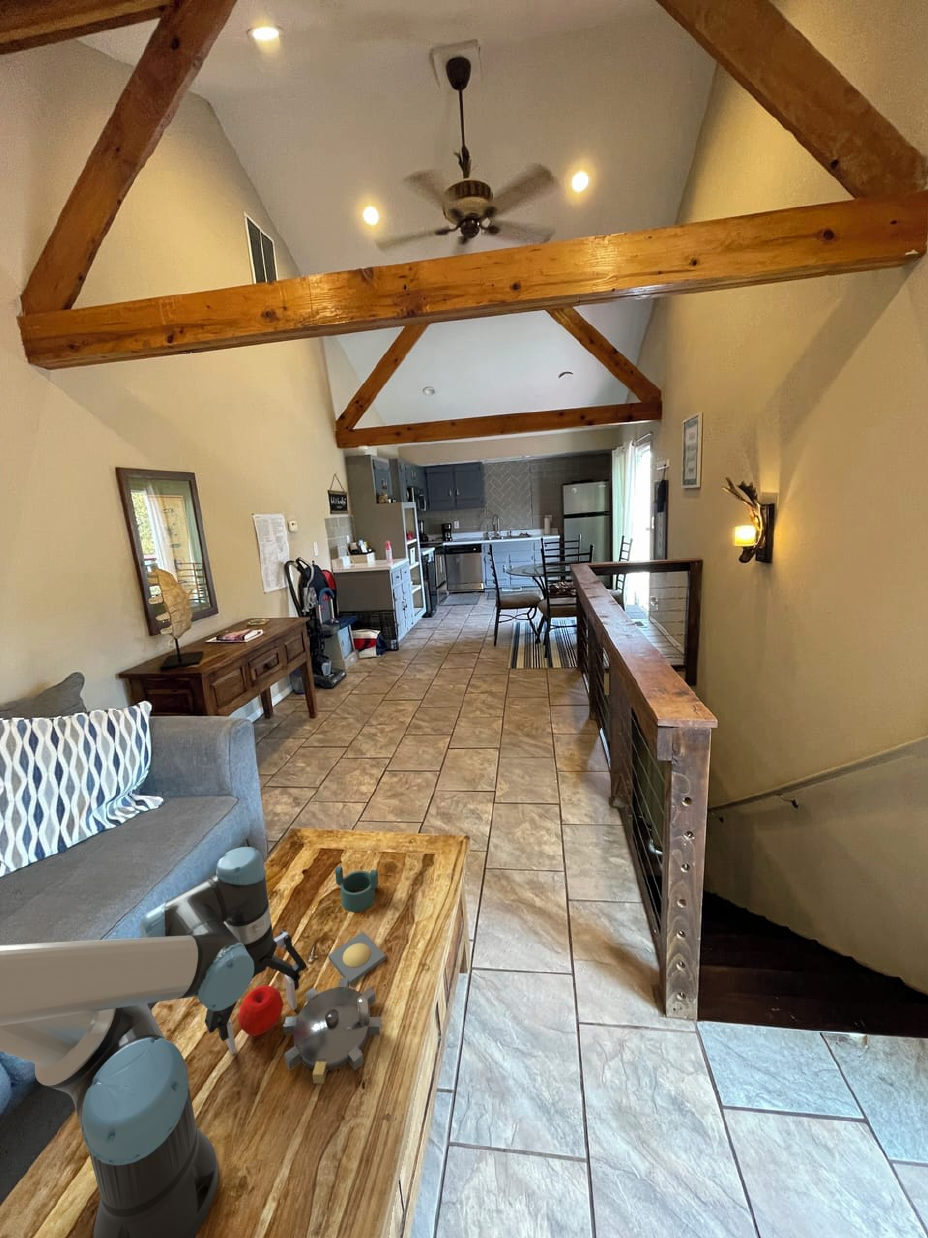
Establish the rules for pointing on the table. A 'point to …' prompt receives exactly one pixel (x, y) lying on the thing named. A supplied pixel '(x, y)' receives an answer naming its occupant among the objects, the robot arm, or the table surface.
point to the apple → (260, 1010)
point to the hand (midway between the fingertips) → (263, 1025)
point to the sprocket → (331, 1030)
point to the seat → (356, 957)
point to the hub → (331, 1018)
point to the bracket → (357, 881)
